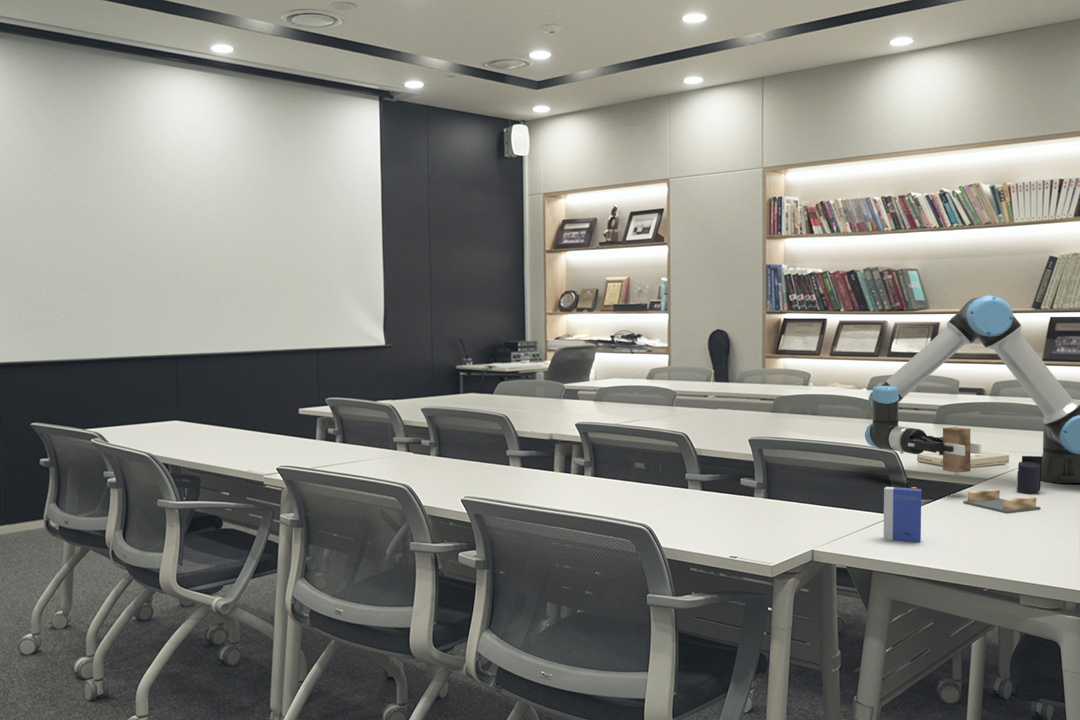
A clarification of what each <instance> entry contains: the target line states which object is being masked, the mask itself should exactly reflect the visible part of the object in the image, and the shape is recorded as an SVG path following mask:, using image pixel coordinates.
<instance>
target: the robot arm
mask: <svg viewBox="0 0 1080 720" xmlns="http://www.w3.org/2000/svg"><path fill="white" fill-rule="evenodd" d="M1021 329H1022V324H1021V323H1020V322H1019V320H1018V319H1017V318H1016V317H1015V315H1014V312H1013V309H1012V307H1011V305H1010V304H1009V303H1008V302H1007V301H1006V300H1004V299H1002V298H1000V297H998V296H995V295H983V296H978V297H974V298H972V299H970V300H968V301H967V302H966V303H965V304H964V305H963V306H962V307H961V308H960V310H958V312H956V314H955V315H954V316H952V317H951V319H949V320H948V321H947V322H946V328H944V329H943V330H942V331H941V332H939V334H937V335H936V336H935V337H934V338H932V340H931V341H929V343H927V344H926V345H925V346H924V347H923V348H921V349H920V351H918V352H917V353H916V354H915V355H914V356H913V357H912V358H910V359H909V360H908V361H906V363H905V364H904V365H902V366H901V367H900V368H899V369H898V370H897V371H896V372H894V373H893V374H892V375H891V376H890V377H888V378H887V379H886V381H885V382H883V383H882V384H881V385H876V386H874V387H873V388H872V391H871V392H870V394H869V396H868V404H869V406H870V408H871V409H872V423H870V424H869V425H868V426H867V427H866V430H865V432H864V439H865V442H866V443H867V444H868V445H869V446H871V447H873V448H877V449H880V450H889V451H894V452H899V453H900V454H902V455H903V454H904V453H906V454H912V455H920V454H922V453H923V452H930V453H934V454H935V453H938V454H939V455H940V456H941V455H942V456H943V451H945V453H950V454H956V455H962V456H964V455H965V446H964V445H957V444H950V443H945V445H943V436H940V437H939V436H933V435H927V433H926V432H925V431H924V430H922V429H919V428H914V427H907V426H900V425H899V403H900V402H901V401H902V400H903V399H904V398H906V397H907V395H908V394H910V393H911V392H912V391H914V389H916V388H917V387H918V386H919V385H920V384H921V383H923V381H925V380H926V379H927V378H928V377H929V376H931V374H933V373H934V372H935V371H936V370H937V369H938V368H940V367H941V366H942V365H943V364H944V363H946V362H947V361H948V360H949V359H950V358H951V357H952V356H953V355H955V354H956V353H957V352H958V351H959V350H960V349H961V348H963V347H965V345H971V344H972V343H974V342H975V341H976V340H977V339H978V341H980V343H981V344H982V345H983V347H984V348H986V349H989V350H994V352H995V353H996V354H997V356H998V357H999V359H1001V361H1002V362H1003V363H1004V365H1005V367H1007V368H1008V371H1010V373H1012V375H1013V377H1014V378H1015V379H1016V380H1017V382H1018V383H1019V384H1020V385H1021V386H1022V388H1023V389H1024V390H1025V392H1026V393H1027V394H1028V395H1029V397H1030V398H1031V399H1032V401H1033V402H1034V404H1036V406H1037V407H1038V408H1039V410H1040V411H1041V413H1042V414H1043V415H1042V418H1043V420H1042V422H1043V427H1042V428H1043V429H1042V430H1043V431H1042V432H1043V436H1042V455H1041V456H1042V470H1041V481H1043V482H1047V481H1048V483H1053V482H1055V484H1063V483H1080V399H1076V398H1075V399H1074V398H1072V397H1071V396H1070V395H1069V393H1068V392H1067V391H1066V390H1065V388H1064V387H1063V385H1062V384H1061V383H1060V382H1059V381H1058V379H1057V378H1056V377H1055V375H1054V374H1053V372H1052V371H1050V369H1049V367H1047V365H1046V364H1045V363H1044V361H1043V360H1042V358H1040V356H1039V355H1038V354H1037V352H1036V351H1035V350H1034V348H1032V346H1031V345H1030V344H1029V342H1028V341H1027V340H1026V338H1025V337H1024V336H1023V334H1022V333H1021ZM981 445H982V444H980V443H975V442H970V454H974V455H975V454H976V455H981V453H982V452H981V450H982V449H981Z"/></svg>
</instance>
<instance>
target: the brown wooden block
mask: <svg viewBox="0 0 1080 720" xmlns="http://www.w3.org/2000/svg"><path fill="white" fill-rule="evenodd" d="M942 437H943V445H945V443H950V444H957V445H964V446H965V455H964V456H962V455H956V454H950V453H945V451H943V455H942V471H946V472H952V473H957V474H958V473H966V472H967V473H968V472H971V453H970V443H971V428H968V427H962V426H961V427H959V426H952V427H942Z"/></svg>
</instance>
